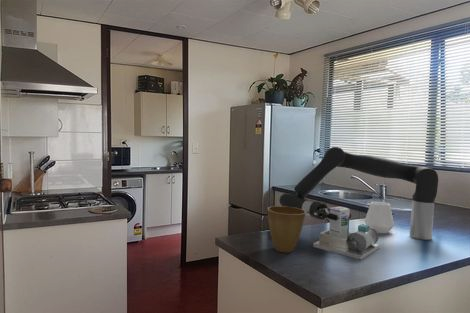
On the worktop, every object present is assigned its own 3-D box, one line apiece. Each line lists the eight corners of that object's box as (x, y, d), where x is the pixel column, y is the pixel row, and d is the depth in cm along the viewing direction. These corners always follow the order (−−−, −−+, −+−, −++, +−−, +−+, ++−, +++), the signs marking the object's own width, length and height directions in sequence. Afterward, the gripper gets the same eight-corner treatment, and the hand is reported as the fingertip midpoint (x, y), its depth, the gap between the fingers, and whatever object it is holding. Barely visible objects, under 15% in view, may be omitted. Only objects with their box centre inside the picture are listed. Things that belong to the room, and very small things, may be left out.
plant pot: (274, 257, 128) (276, 214, 127) (260, 244, 142) (262, 206, 141) (310, 255, 132) (313, 213, 131) (293, 243, 146) (295, 205, 145)
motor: (334, 237, 157) (335, 214, 157) (380, 248, 144) (381, 223, 144) (312, 246, 142) (314, 221, 142) (361, 259, 129) (363, 231, 128)
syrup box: (339, 244, 141) (341, 209, 141) (328, 240, 146) (330, 206, 146) (348, 242, 145) (350, 208, 144) (336, 239, 150) (339, 205, 149)
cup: (362, 231, 170) (364, 203, 169) (366, 226, 182) (367, 199, 181) (392, 236, 164) (394, 207, 163) (394, 230, 176) (396, 203, 175)
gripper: (303, 202, 152) (333, 209, 139) (325, 200, 160) (355, 206, 147) (302, 219, 153) (331, 227, 139) (324, 216, 161) (354, 224, 147)
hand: (343, 217), depth 143 cm, fingers open, 8 cm apart
